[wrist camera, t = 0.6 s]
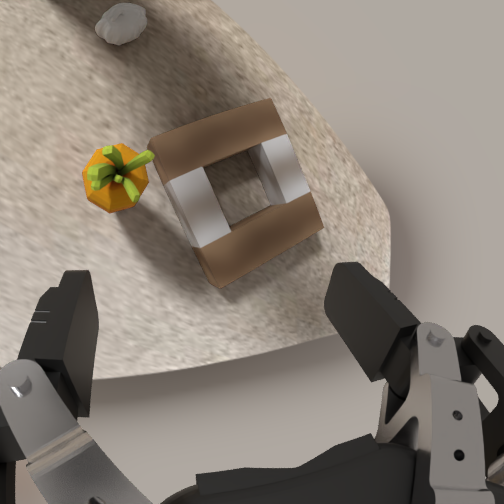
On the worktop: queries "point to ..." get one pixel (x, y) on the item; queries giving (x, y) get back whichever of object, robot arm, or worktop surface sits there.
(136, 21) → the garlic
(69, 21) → the worktop surface
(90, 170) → the carrot
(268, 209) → the brown and silver frame
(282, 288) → the worktop surface
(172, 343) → the worktop surface
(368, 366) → the robot arm
